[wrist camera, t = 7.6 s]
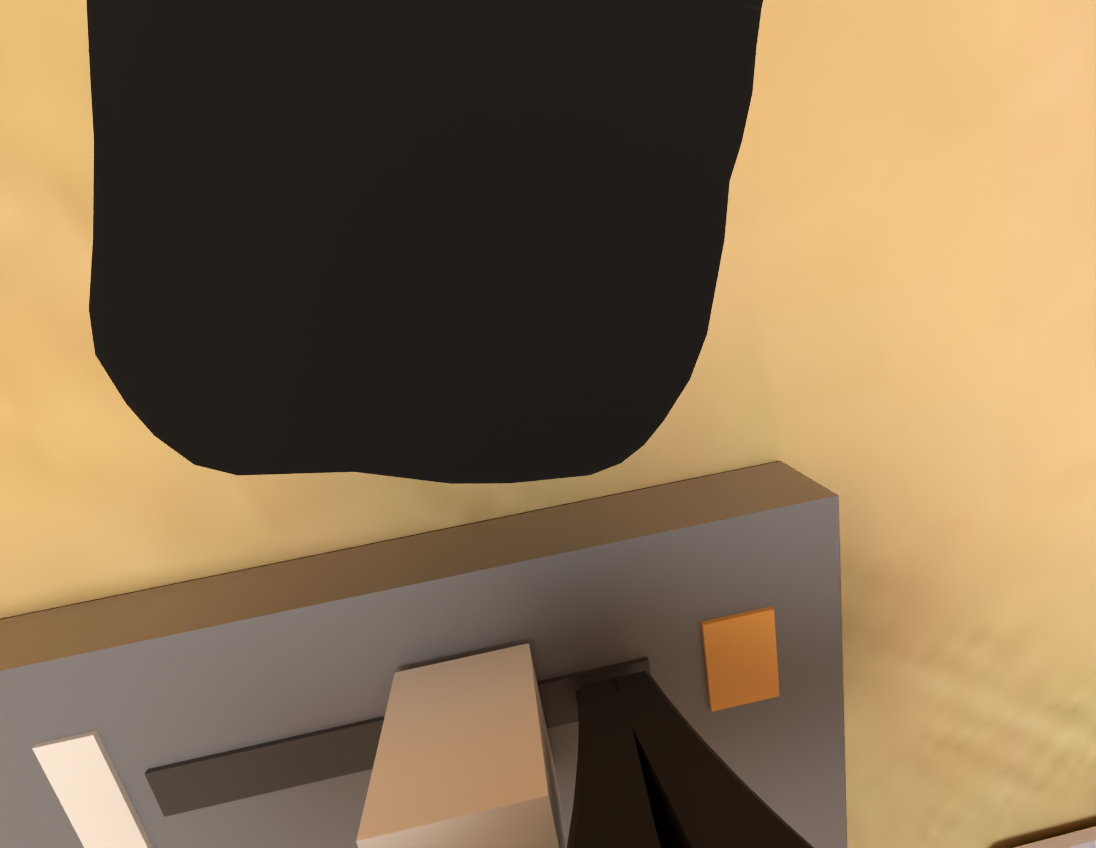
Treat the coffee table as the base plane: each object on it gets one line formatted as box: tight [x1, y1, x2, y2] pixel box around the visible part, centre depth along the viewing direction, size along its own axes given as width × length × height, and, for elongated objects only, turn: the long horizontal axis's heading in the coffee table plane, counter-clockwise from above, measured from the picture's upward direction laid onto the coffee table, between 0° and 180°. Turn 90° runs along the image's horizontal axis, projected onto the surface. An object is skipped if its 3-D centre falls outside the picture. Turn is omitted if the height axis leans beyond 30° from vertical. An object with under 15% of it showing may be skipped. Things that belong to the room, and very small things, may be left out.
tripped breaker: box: [356, 643, 567, 848], centre depth 9 cm, size 3×2×3 cm
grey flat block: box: [0, 461, 847, 848], centre depth 12 cm, size 14×17×2 cm
